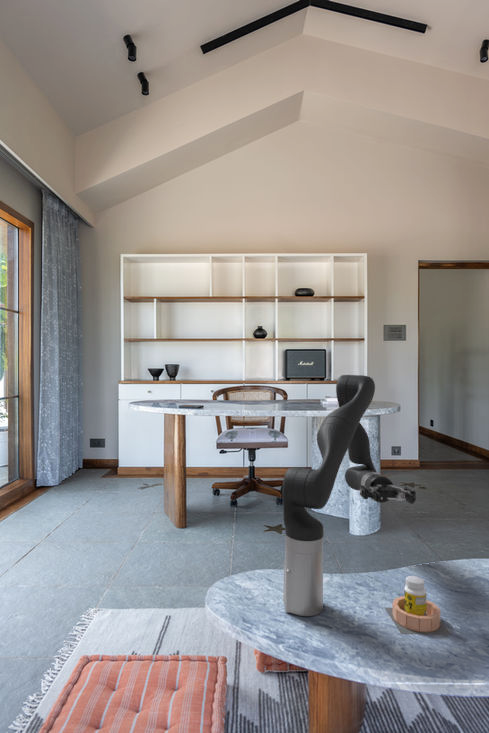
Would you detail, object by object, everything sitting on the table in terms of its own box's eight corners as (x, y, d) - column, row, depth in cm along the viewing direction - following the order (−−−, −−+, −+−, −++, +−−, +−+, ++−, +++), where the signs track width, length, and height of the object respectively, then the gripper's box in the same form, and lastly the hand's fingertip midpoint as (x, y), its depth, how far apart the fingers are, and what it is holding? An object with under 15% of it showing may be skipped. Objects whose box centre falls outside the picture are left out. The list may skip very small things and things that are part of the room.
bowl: (402, 632, 94) (402, 618, 95) (387, 608, 104) (387, 595, 105) (448, 632, 95) (448, 618, 95) (428, 609, 105) (428, 596, 105)
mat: (401, 635, 94) (401, 633, 94) (384, 608, 105) (384, 607, 105) (451, 635, 94) (451, 634, 94) (429, 609, 105) (429, 608, 105)
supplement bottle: (400, 612, 102) (400, 575, 102) (419, 611, 102) (419, 574, 103) (411, 623, 97) (410, 584, 97) (431, 621, 98) (430, 583, 98)
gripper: (353, 472, 129) (369, 483, 113) (400, 474, 130) (423, 485, 113) (352, 498, 129) (368, 513, 113) (400, 500, 129) (423, 514, 113)
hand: (396, 499), depth 113 cm, fingers open, 8 cm apart
